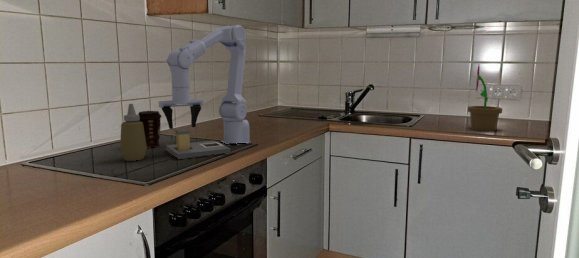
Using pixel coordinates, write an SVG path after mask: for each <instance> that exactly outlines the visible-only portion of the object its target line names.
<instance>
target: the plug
mask: <svg viewBox="0 0 579 258" xmlns="http://www.w3.org/2000/svg"><path fill="white" fill-rule="evenodd" d="M190 134H191V131H190V130H189V129H187V128H185V129H184V128H183V129H175V140H176V143H175V144H176V145H177V151H179V150H188V149H190V143H191V137H190Z"/></svg>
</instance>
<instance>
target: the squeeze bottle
mask: <svg viewBox="0 0 579 258" xmlns="http://www.w3.org/2000/svg"><path fill="white" fill-rule="evenodd" d="M135 109H136V108H135V107H134V103H129V104H128V108H127V114H125V115H123V120H124V121H123V122H122V123H121V124H120V140H119V141H120V143H119V147H120V148H119V149H120V152H121V154H122V157H123V159H124V161H126V162H137V161H136V160H138V161H142V160H144V158H145V155H146V152H147V149H148V148H147V145H146V139H145V133H144V126H143V123H142V122H141V121H138V120H140V116H139V115H138V114H137V113H136V110H135Z"/></svg>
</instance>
